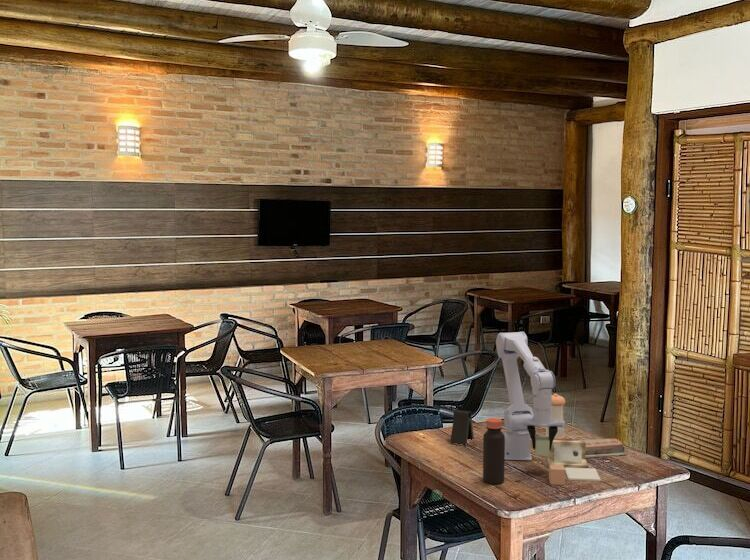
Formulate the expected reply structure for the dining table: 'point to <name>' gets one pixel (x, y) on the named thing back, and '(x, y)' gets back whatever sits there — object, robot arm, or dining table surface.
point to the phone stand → (462, 427)
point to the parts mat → (582, 474)
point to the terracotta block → (557, 474)
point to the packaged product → (604, 447)
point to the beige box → (568, 465)
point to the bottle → (493, 452)
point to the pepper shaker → (557, 415)
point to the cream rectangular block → (567, 453)
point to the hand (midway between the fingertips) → (541, 448)
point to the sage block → (541, 445)
